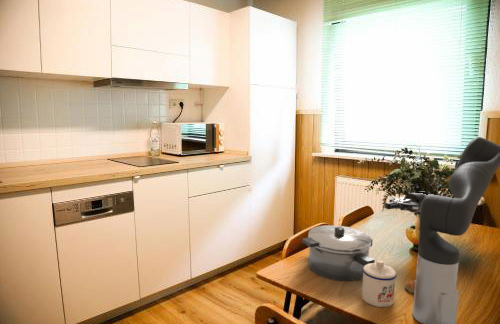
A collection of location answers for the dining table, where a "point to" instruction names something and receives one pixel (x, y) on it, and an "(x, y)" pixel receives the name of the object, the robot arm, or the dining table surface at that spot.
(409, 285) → the pastry
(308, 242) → the cooker lid
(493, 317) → the dining table surface
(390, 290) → the teacup with lid
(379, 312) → the dining table surface
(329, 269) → the cooker pot
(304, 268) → the dining table surface
